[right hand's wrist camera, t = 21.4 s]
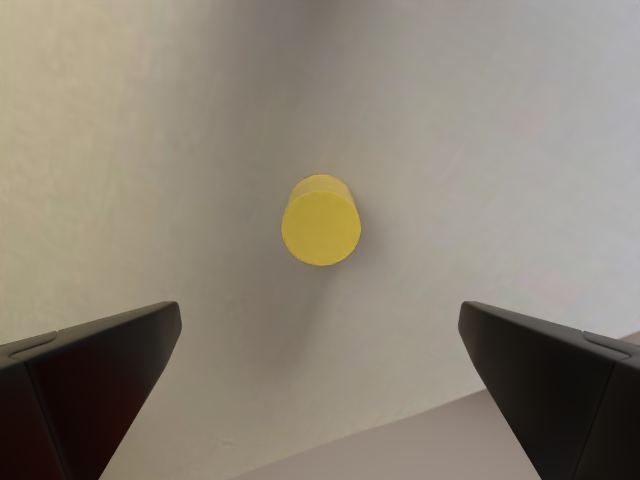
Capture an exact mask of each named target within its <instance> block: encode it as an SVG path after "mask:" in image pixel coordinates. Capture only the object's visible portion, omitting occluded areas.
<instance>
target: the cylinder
mask: <svg viewBox="0 0 640 480" xmlns="http://www.w3.org/2000/svg"><path fill="white" fill-rule="evenodd" d="M281 232H282V238H283V241H284V243H285V245H286V247H287V248H288V250H289V251H290V252H291V253H292V254H293V255H294V256H295V257H296V258H297V259H299V260H301V261H303V262H305V263H307V264H311V265H316V266H326V265H332V264H335V263H337V262H340V261H341V260H343V259H345V258H346V257H347V256H349V255H350V254H351V253H352V251H353V250H354V249H355V247H356V245H357V244H358V241H359V238H360V234H361V223H360V218H359V215H358V212H357V209H356V206H355V203H354V199H353V196H352V194H351V192H350V190H349V189H348V187H347V186H346V185H345V184H344V183H343V182H342V181H340V180H339V179H337V178H335V177H333V176H330V175H323V174H319V175H312V176H309V177H307V178H305V179H303V180H301V181H300V182H299V183H298V184H297V185H296V186H295V187H294V188H293V190H292V192H291V194H290V196H289V199H288V202H287V206H286V209H285V212H284V216H283V219H282V224H281Z"/></svg>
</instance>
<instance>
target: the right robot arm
mask: <svg viewBox="0 0 640 480" xmlns="http://www.w3.org/2000/svg"><path fill="white" fill-rule="evenodd" d="M181 329H182V322H181V316H180V310H179V305H178V303H177V302H175V301H165V302H160V303H157V304H153V305H150V306H146V307H142V308H139V309H135V310H131V311H128V312H124V313H120V314H117V315H113V316H110V317H106V318H102V319H99V320H95V321H91V322H88V323H84V324H80V325H77V326H73V327H70V328H66V329H62V330H59V331H58V332H57V331H53V332H50V333H46V334H42V335H38V336H35V337H31V338H27V339H23V340H19V341H16V342H12V343H8V344H4V345H0V480H98V479H99V478H100V476H101V474H102V473H103V471H104V469H105V468H106V466H107V464H108V463H109V461H110V459H111V458H112V456H113V454H114V453H115V451H116V449H117V448H118V446H119V444H120V443H121V441H122V439H123V438H124V436H125V434H126V433H127V431H128V429H129V427H130V426H131V424H132V422H133V421H134V419H135V417H136V416H137V414H138V412H139V411H140V409H141V407H142V406H143V404H144V402H145V401H146V399H147V397H148V396H149V394H150V392H151V391H152V389H153V387H154V386H155V384H156V382H157V381H158V379H159V377H160V376H161V374H162V372H163V370H164V369H165V367H166V365H167V363H168V361H169V358H170V356H171V354H172V352H173V349H174V347H175V345H176V342H177V340H178V338H179V335H180V333H181ZM458 329H459V333H460V335H461V338H462V340H463V342H464V345H465V347H466V349H467V352H468V354H469V356H470V358H471V361H472V363H473V365H474V367H475V369H476V370H477V372H478V374H479V376H480V377H481V379H482V381H483V382H484V384H485V386H486V387H487V389H488V391H489V392H490V394H491V396H492V397H493V399H494V401H495V402H496V404H497V406H498V407H499V409H500V411H501V412H502V414H503V416H504V417H505V419H506V421H507V422H508V424H509V426H510V427H511V429H512V431H513V433H514V434H515V436H516V438H517V439H518V441H519V443H520V444H521V446H522V448H523V449H524V451H525V453H526V454H527V456H528V458H529V459H530V461H531V463H532V464H533V466H534V468H535V469H536V471H537V473H538V474H539V476H540V478H541V479H542V480H640V345H636V344H632V343H628V342H624V341H621V340H617V339H613V338H609V337H605V336H602V335H598V334H594V333H590V332H587V331H583V332H582V331H581V330H578V329H574V328H570V327H567V326H563V325H560V324H556V323H552V322H549V321H545V320H541V319H538V318H534V317H530V316H527V315H523V314H520V313H516V312H512V311H509V310H505V309H501V308H498V307H494V306H490V305H487V304H483V303H480V302H475V301H465V302H463V303H462V305H461V310H460V316H459V322H458Z"/></svg>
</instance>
